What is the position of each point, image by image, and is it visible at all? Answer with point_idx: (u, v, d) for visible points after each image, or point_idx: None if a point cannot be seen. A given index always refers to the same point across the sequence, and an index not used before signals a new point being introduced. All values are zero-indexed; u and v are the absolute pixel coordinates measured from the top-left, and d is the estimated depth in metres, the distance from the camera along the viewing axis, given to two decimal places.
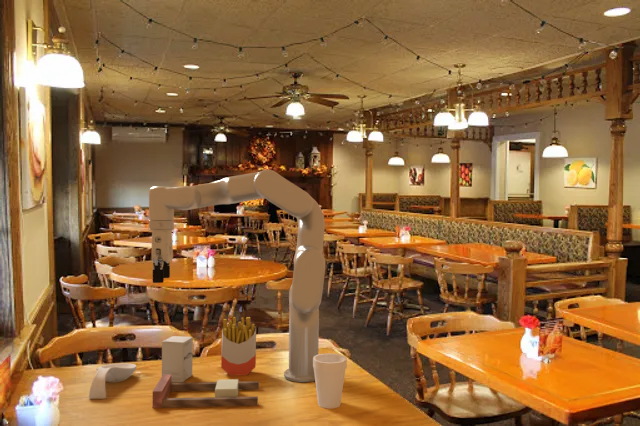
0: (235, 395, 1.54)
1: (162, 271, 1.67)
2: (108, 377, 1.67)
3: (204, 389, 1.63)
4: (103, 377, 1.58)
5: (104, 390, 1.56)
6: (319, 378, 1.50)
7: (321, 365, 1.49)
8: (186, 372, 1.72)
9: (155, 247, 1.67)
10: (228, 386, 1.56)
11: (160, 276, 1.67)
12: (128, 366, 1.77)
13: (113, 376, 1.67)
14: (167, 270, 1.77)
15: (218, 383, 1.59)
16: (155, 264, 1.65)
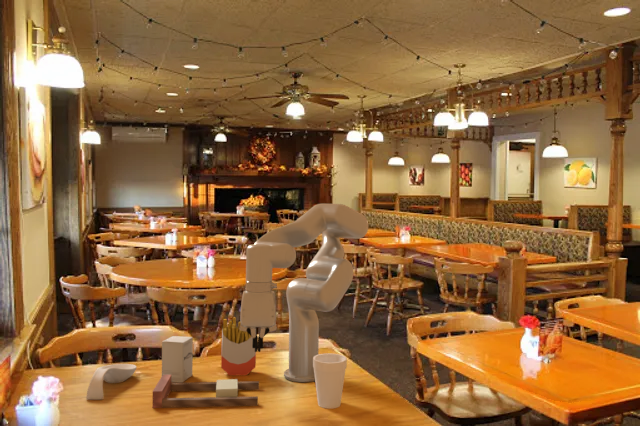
0: (236, 395, 1.55)
1: None
2: (107, 378, 1.67)
3: (204, 389, 1.63)
4: (101, 378, 1.57)
5: (101, 391, 1.55)
6: (319, 378, 1.50)
7: (321, 365, 1.49)
8: (186, 372, 1.72)
9: (275, 309, 1.58)
10: (228, 386, 1.56)
11: None
12: (128, 367, 1.77)
13: (112, 377, 1.66)
14: None
15: (218, 383, 1.58)
16: (269, 330, 1.58)
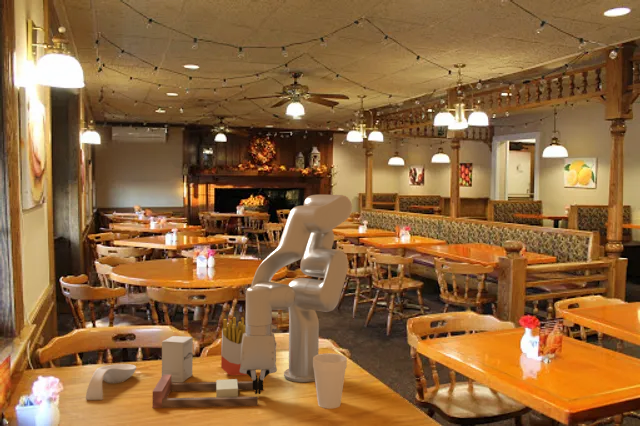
0: (236, 395, 1.55)
1: None
2: (106, 378, 1.67)
3: (204, 389, 1.63)
4: (100, 378, 1.57)
5: (101, 391, 1.55)
6: (319, 378, 1.50)
7: (321, 365, 1.49)
8: (186, 372, 1.72)
9: (275, 351, 1.58)
10: (228, 386, 1.56)
11: None
12: (128, 367, 1.76)
13: (112, 377, 1.66)
14: None
15: (218, 383, 1.58)
16: None
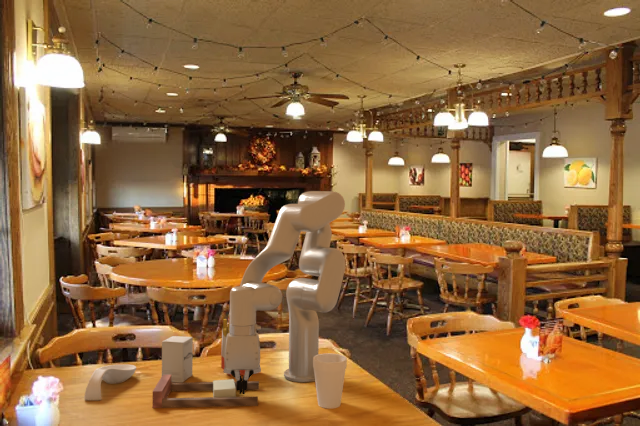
0: (234, 395, 1.55)
1: None
2: (106, 378, 1.66)
3: (204, 389, 1.63)
4: (99, 379, 1.56)
5: (99, 392, 1.55)
6: (319, 378, 1.50)
7: (321, 365, 1.49)
8: (186, 372, 1.72)
9: (259, 352, 1.58)
10: (226, 386, 1.56)
11: None
12: (129, 367, 1.76)
13: (111, 377, 1.66)
14: None
15: (215, 384, 1.58)
16: None
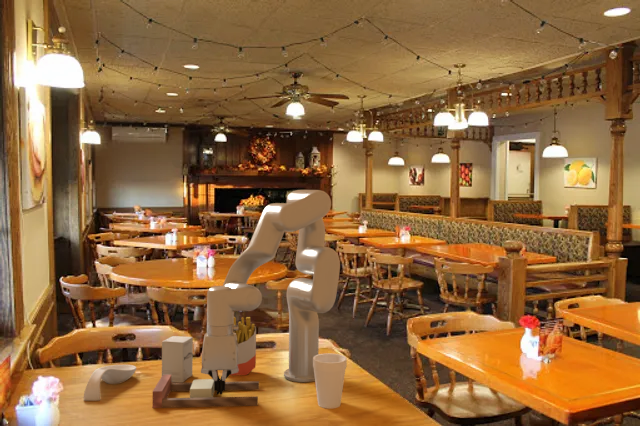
0: (210, 395, 1.55)
1: None
2: (106, 379, 1.66)
3: None
4: (98, 379, 1.56)
5: (98, 392, 1.54)
6: (319, 378, 1.50)
7: (321, 365, 1.49)
8: (186, 372, 1.72)
9: (237, 352, 1.57)
10: (203, 386, 1.57)
11: None
12: (129, 368, 1.76)
13: (111, 378, 1.66)
14: None
15: (194, 383, 1.59)
16: (231, 372, 1.58)
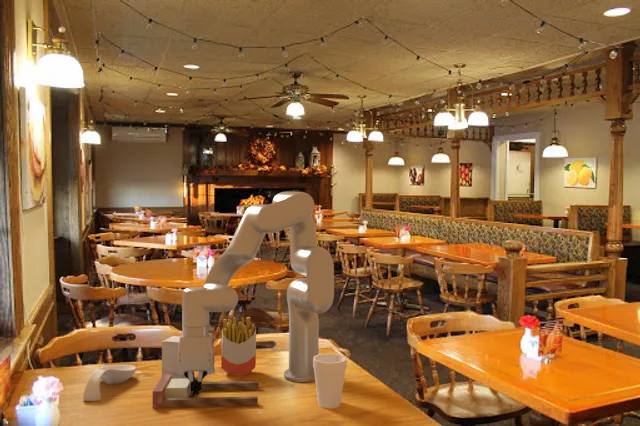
0: (185, 394, 1.55)
1: None
2: (105, 379, 1.66)
3: (204, 389, 1.63)
4: (97, 379, 1.56)
5: (98, 392, 1.54)
6: (319, 378, 1.50)
7: (322, 365, 1.49)
8: None
9: (213, 352, 1.57)
10: (179, 385, 1.57)
11: None
12: (128, 368, 1.76)
13: (111, 378, 1.65)
14: None
15: (170, 382, 1.59)
16: None
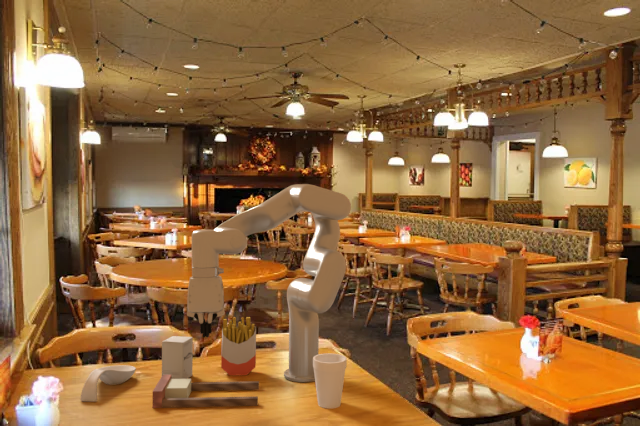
0: (185, 394, 1.55)
1: None
2: (104, 379, 1.65)
3: (204, 389, 1.63)
4: (95, 380, 1.55)
5: (95, 393, 1.54)
6: (319, 378, 1.50)
7: (321, 365, 1.49)
8: (186, 372, 1.72)
9: (222, 294, 1.57)
10: (179, 385, 1.57)
11: None
12: (129, 368, 1.75)
13: (109, 378, 1.65)
14: None
15: (170, 382, 1.59)
16: None
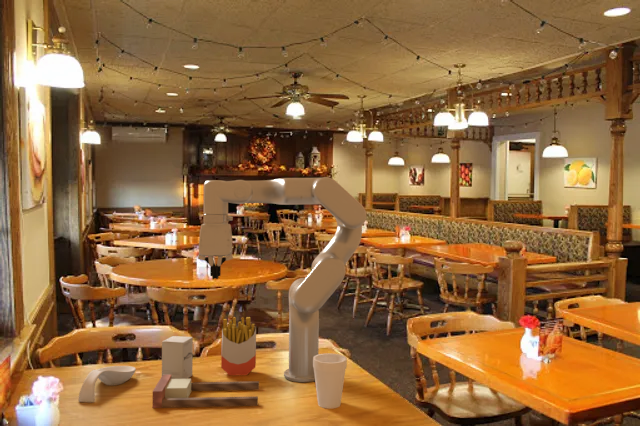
0: (185, 394, 1.55)
1: None
2: (104, 380, 1.65)
3: (204, 389, 1.63)
4: (93, 380, 1.55)
5: (93, 394, 1.53)
6: (319, 378, 1.50)
7: (322, 365, 1.49)
8: (186, 372, 1.72)
9: (231, 240, 1.71)
10: (179, 385, 1.57)
11: None
12: (129, 369, 1.74)
13: (108, 379, 1.64)
14: None
15: (170, 382, 1.59)
16: None
